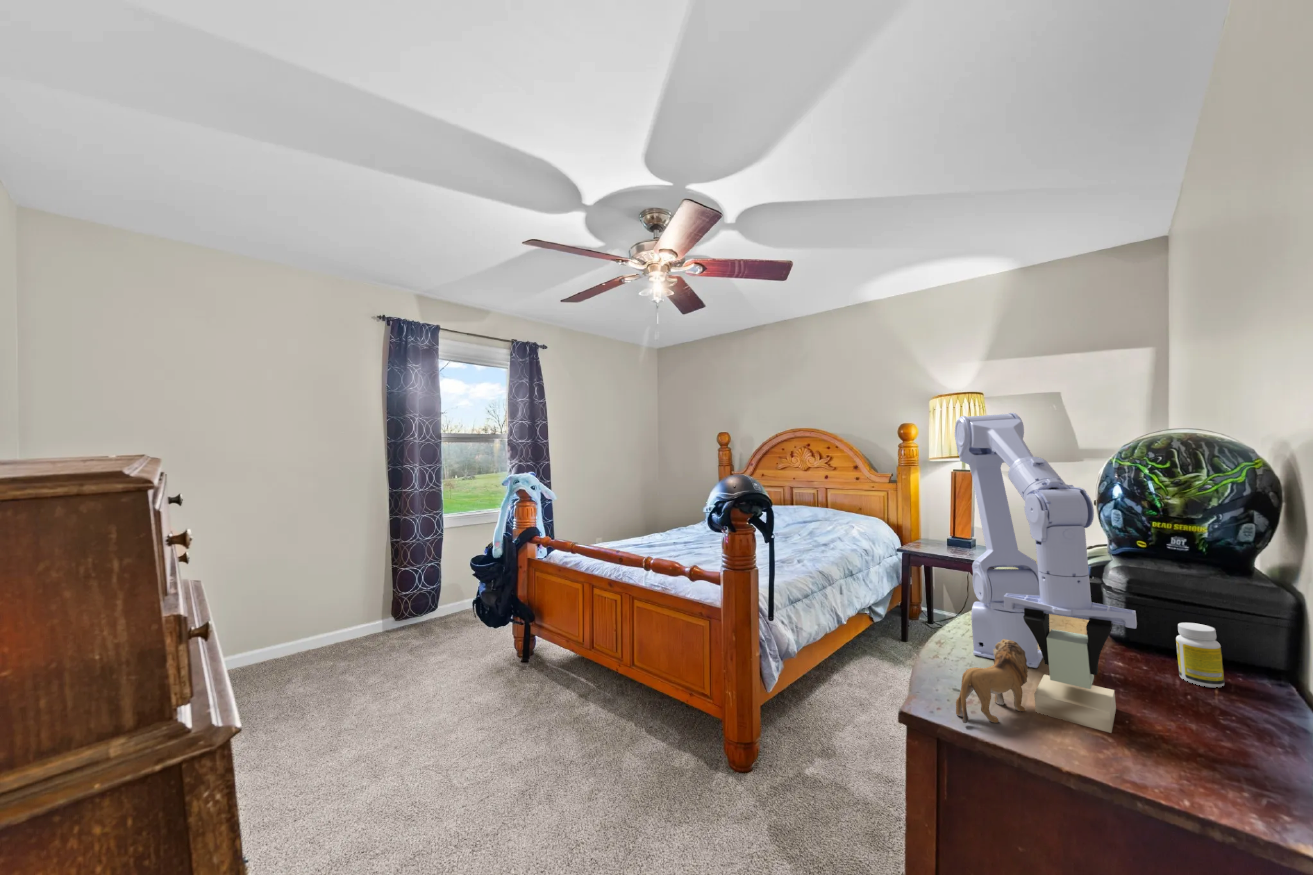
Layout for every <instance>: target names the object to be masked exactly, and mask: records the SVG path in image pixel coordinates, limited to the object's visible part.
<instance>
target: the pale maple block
mask: <svg viewBox="0 0 1313 875" xmlns="http://www.w3.org/2000/svg"><path fill="white" fill-rule="evenodd" d="M1115 693H1116V692H1115V689H1111V688H1105V687H1102V686H1098V685H1093V684H1092V686H1091V689H1088V688H1083V687H1079V686H1074V685H1070V684H1066V683H1061V682H1057V681H1052V680H1050V674H1049V675H1048V674H1043V676H1042V678H1041V680H1040V681H1039V684H1038V686H1037V688H1036V690H1035V692H1034V706H1035V707H1034V708H1035V713H1036V712H1037V714H1039V713H1041V714H1040V715H1043V714H1044V715H1043V716H1047V715H1048V717H1051V718H1055V719H1057V720H1058V719H1059V720H1061V719H1063V720H1062V721H1065V722H1070V723H1073V724H1075V725H1076V724H1077V725H1080V726H1084V727H1088V728H1090V729H1095V730H1099V731H1102V732H1106V733H1110V734H1112V732H1113V727H1114V722H1115V717H1116V716H1115V714H1116V711H1117V706H1116V705H1117V704H1116V695H1115Z"/></svg>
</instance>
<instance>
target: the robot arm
mask: <svg viewBox="0 0 1313 875" xmlns="http://www.w3.org/2000/svg"><path fill="white" fill-rule="evenodd" d="M1024 435H1025V426H1024V422H1023V420H1022V418H1021V417H1020V416H1019V415H1018V414H1017V413H1016V412H1008V413H1004V414H1003V413H1002V414H987V415H986V414H985V415H971V416H965V415H962V416H959V417H958V418H957V420H956V422H955V427H954V440H955V445H956V451H957V454H958V456H959V457H958V458H959V461H960V462H962V463H963V464H966V465H968V467H969V470H970V474H971V477H972V482H973V488H974V493H975V499H976V503H977V508H978V514H979V518H980V524H981V525H980V526H981V528H982V533H983V539H984V544H985V551H984V552H983V553H982V554H981V555H979V556H978V557H976V558H975V559H974V560H973V562H972V565H971V568H972V588H973V592H974V595H975V597H976V598H977V601H974V602H973V604H972V607H971V617H970V618H971V619H970V620H971V629H972V630H971V631H972V633H971V634H972V643H973V651H972V654H973V655H974V656H977V657H978V656H979V657H984V658H988V659H993V660H995V657H994V651H993V650H994V649H996V648H995V645H996V644H997V643H998V642H1001V640H1003V639H1006V640H1012V641H1014V642H1016V643H1018V645H1019V646H1020V647H1021V648H1022V649H1023V650H1024V651H1025V656H1026V659H1027V662H1026V664H1027V667H1029V668H1032V669H1033V668H1034V669H1037V668H1038V667H1039V666H1040V664H1041V662H1042V660H1043V662H1044V665H1046V666H1049V661H1048V649H1047V636H1048V634H1049V633H1050V631H1051V629H1050V615H1051V616H1052V615H1054V616H1059V617H1060V616H1061V617H1066V618H1075V619H1079V620H1080V619H1081V620H1086V621H1088V622H1087V623H1086V626H1085V628H1086V635H1087V636H1088V643H1089V652H1090V658H1089V666H1090V674H1093V675H1094V676H1097V675H1098V672H1099V661H1100V656H1101V653H1102V650H1103V648H1104V646H1105V643H1106V642H1107V640H1108V639H1109V636H1110V635H1111V632H1112V631H1113V626H1114V625H1119V626H1120V625H1121V626H1124V627H1125V628H1129V629H1134V630H1135V629H1137V625H1138V622H1137V613H1136V610H1133V609H1129V608H1121V607H1116V606H1113V605H1107V604H1102V603H1098V602H1097V603H1096V602H1092V597H1091V596H1092V594H1091V584H1090V581H1091V580H1090V573H1089V572H1090V570H1089V559H1088V550H1087V548H1088V547H1087V537H1086V529H1089V527H1090V526H1092V524H1093V522H1094V518H1095V509H1094V504H1093V501H1092V500H1091V497H1090V496H1089V494H1088V493H1087V491H1086V490H1085V489H1084V488H1082V487H1080V486H1074V485H1073V484H1067V483H1066V482H1065V481H1064V480H1063V479H1062V478H1061V476H1060V475H1059V474H1058V473H1057V471H1056V470H1055V469H1054V467H1052V466H1051V464H1050V463H1049V462H1048V461H1047V460H1046V459H1044V458H1042V457H1038V456H1034V455H1033V454H1032V452H1031V450H1030V449H1029V446H1028V445H1027V443H1026V442H1025V441H1024ZM1004 463H1005V464H1006V465H1007V466H1008V467H1009V469H1008V473H1007V476H1008V480H1010V482H1011V483H1012V485H1013V486H1014V488H1015V489H1016V490H1017V493H1019V495H1020V497H1021V498H1022V499H1023V501H1024V505H1023V508H1024V514H1025V517H1026V521H1027V522H1028V526H1029V532H1030V533H1029V534H1030V535H1031V538H1032V539H1033V540H1035V550H1036V551H1035V553H1036V560H1035V559H1034V558H1031V557H1030V556H1028V555H1026V554H1025V553H1023V552H1022V551H1020V550H1019V548H1018V542H1017V539H1016V533H1015V530H1014V523H1013V520H1012V515H1011V510H1010V506H1009V501H1008V497H1007V491H1006V488H1005V482H1004V477H1003V473H1002V472H1003V471H1002V465H1003V464H1004ZM1007 568H1008V569H1007Z"/></svg>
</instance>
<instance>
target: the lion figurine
mask: <svg viewBox="0 0 1313 875" xmlns="http://www.w3.org/2000/svg"><path fill="white" fill-rule="evenodd" d="M995 648H996V649H994V650H993V651H994V657H995V659H993V660H994V661H993V665H991V666H989V667H970V668H968V669H965V671H964V672H963V673H962V679H961V685H960V686H961V687H960V692H959V696H958V697H957V698H956V701H955V714H956V715H957V716H959V717H962V723H963V724H967V723H968V722H969V716H968V715H969V714H968V711H967V699H968V697H970V695H971V694H972V693H973V691H974V692H975V694H976V696H977V697H978V699H979V701H980V712H981V713H982V714H983V716H985V717H986V719H987V720H988V721H990V722H991V723H993V724H994V723H995V724H996V723H999V718H998V716H996V715H992V714H991V712H990V704H991V700H992V694H994V695H995V696H994V703H996V704H997V705H1000V706H1003V705H1005V703H1006V702H1005V699H1004V695H1003V694H1004V693H1006V692H1008V691H1010V690H1011V692H1012V694H1013V706H1014V709H1015V710H1016V711H1018V712H1021V711H1025V712H1026V708H1025V706H1023V705H1022V702H1023V699H1022V698H1023V694H1024V693H1023V688H1022V687H1023V686H1024V684H1026V683H1028V672H1029V671H1028V666H1027V664H1026V662H1027V659H1026V656H1025V651H1024V650H1023V649H1022V648H1021V647H1020V646H1019V645H1018V643H1016V642H1014V641H1012V640H1006V639H1003V640H1001V642H998V643H997V644H996V645H995Z"/></svg>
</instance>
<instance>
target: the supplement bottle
mask: <svg viewBox="0 0 1313 875" xmlns="http://www.w3.org/2000/svg"><path fill="white" fill-rule="evenodd" d="M1177 631H1178V635H1176V637H1175V643H1176V646H1175V647H1176V655H1177V666H1178V667H1177V668H1178V675H1179V677H1180V678H1181V679H1182V680H1183V679H1184V680H1183V681H1185V682H1187V681H1188V682H1187V683H1190V684H1192V683H1193V685H1195V684H1196V685H1197V686H1199V685H1200V687H1204V686H1205V688H1215V689H1216V687H1218V688H1222V686H1223V687H1224V686H1225V676H1224V665H1223V663H1224V662H1223V654H1222V648H1221V647H1222V646H1221V644H1220V643H1219V642H1218V641H1217V637H1218V636H1217V632H1216V631H1217V630H1216V628H1215V627H1213V626H1210V625H1208V624H1207V625H1205V624H1200V623H1195V622H1179V623H1177Z"/></svg>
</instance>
